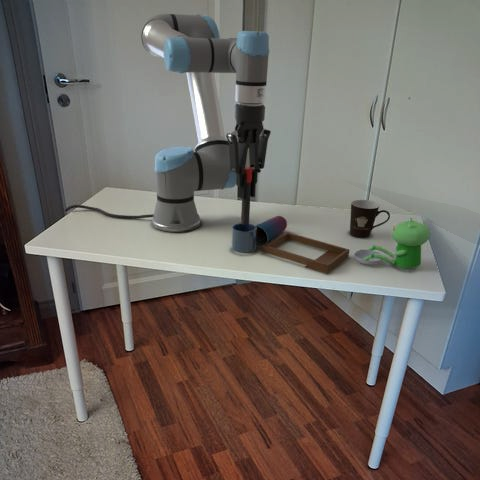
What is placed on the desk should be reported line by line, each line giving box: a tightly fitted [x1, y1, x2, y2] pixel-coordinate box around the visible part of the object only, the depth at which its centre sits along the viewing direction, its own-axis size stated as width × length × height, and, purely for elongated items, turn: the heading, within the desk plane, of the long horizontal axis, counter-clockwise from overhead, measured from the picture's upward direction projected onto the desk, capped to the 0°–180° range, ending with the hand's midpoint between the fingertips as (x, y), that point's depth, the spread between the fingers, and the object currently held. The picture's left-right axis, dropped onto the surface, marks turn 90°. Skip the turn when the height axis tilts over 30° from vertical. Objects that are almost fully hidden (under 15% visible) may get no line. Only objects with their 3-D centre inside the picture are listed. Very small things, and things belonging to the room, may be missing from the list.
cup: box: [254, 215, 288, 248], centre depth 144 cm, size 7×7×15 cm
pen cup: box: [231, 222, 257, 254], centre depth 137 cm, size 7×7×7 cm
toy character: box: [360, 217, 431, 269], centre depth 131 cm, size 10×18×13 cm, turn 73°
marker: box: [240, 166, 252, 225], centre depth 130 cm, size 3×3×16 cm
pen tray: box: [262, 231, 351, 275], centre depth 136 cm, size 21×14×3 cm, turn 55°
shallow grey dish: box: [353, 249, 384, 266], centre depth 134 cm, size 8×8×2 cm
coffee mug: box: [349, 199, 391, 239], centre depth 149 cm, size 12×9×10 cm
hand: (246, 196), depth 130 cm, fingers closed on marker, 3 cm apart
